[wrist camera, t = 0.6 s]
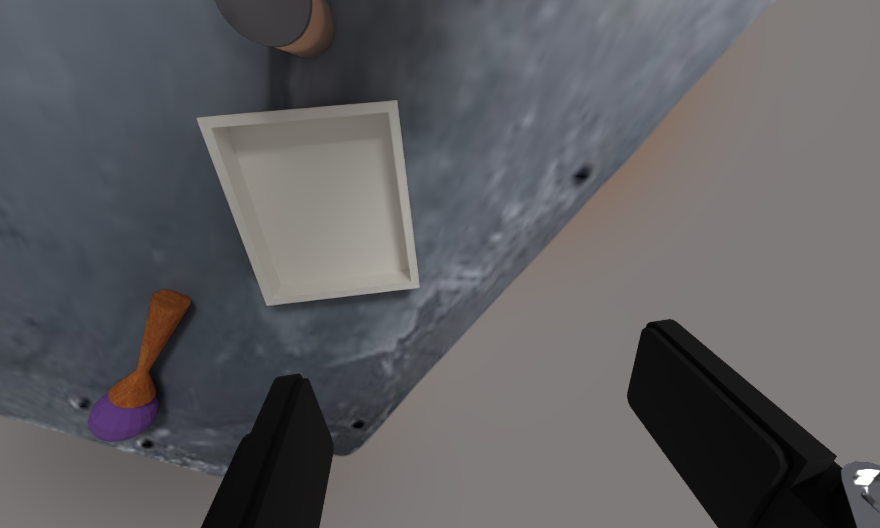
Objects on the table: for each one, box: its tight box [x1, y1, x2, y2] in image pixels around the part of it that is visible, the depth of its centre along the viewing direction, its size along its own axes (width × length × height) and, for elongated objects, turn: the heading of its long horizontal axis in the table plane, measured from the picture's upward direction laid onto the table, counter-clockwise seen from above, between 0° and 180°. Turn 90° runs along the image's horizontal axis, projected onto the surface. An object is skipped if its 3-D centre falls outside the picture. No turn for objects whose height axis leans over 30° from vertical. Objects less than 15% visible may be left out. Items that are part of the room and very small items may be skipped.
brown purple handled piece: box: [88, 290, 191, 442], centre depth 38 cm, size 6×6×20 cm
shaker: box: [215, 0, 334, 58], centre depth 23 cm, size 5×5×9 cm
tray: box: [196, 100, 420, 306], centre depth 32 cm, size 18×16×4 cm
